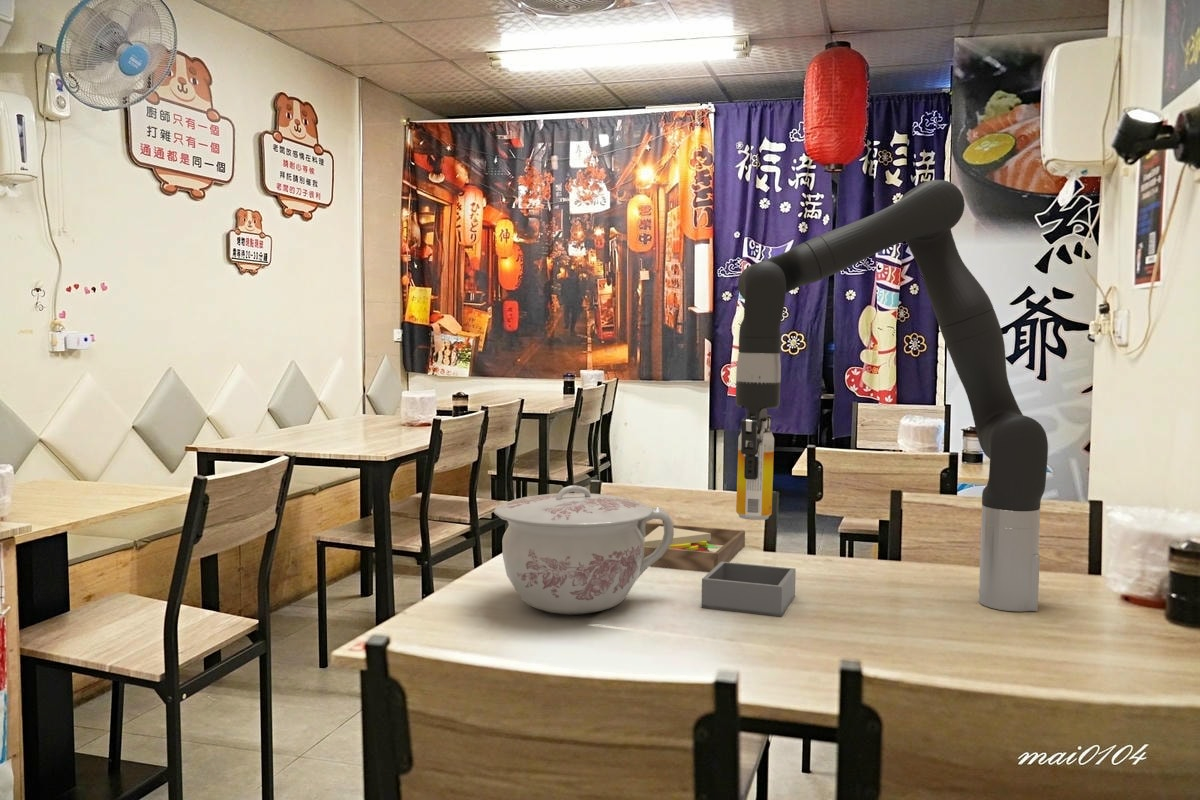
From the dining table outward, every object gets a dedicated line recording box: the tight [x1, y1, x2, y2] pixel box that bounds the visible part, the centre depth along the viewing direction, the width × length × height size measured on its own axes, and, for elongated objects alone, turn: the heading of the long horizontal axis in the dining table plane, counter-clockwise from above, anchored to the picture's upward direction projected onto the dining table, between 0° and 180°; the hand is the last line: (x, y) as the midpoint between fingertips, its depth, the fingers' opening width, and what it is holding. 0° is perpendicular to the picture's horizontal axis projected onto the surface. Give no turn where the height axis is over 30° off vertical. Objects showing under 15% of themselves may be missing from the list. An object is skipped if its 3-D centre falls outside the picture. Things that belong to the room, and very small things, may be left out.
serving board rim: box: [643, 522, 746, 573], centre depth 197 cm, size 24×24×4 cm
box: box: [701, 561, 797, 618], centre depth 162 cm, size 14×14×5 cm
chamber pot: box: [493, 484, 674, 616], centre depth 159 cm, size 28×28×21 cm
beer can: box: [735, 429, 775, 521], centre depth 160 cm, size 6×6×15 cm
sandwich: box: [644, 526, 717, 552], centre depth 197 cm, size 15×20×5 cm
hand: (755, 476), depth 160 cm, fingers closed on beer can, 6 cm apart
